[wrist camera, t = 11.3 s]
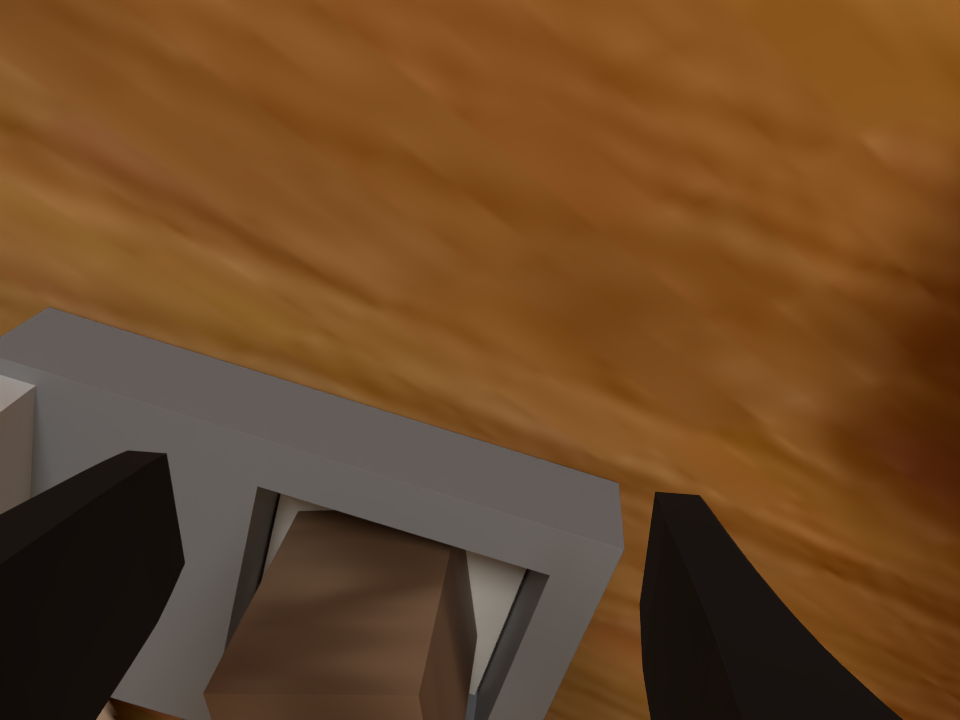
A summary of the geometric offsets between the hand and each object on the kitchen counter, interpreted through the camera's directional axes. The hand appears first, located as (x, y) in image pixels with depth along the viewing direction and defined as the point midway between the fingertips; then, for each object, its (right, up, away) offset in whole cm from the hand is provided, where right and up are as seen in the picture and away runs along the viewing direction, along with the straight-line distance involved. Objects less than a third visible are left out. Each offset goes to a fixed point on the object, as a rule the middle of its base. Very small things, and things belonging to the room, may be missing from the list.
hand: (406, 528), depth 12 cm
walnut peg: (-2, -4, +13) cm, 14 cm away
